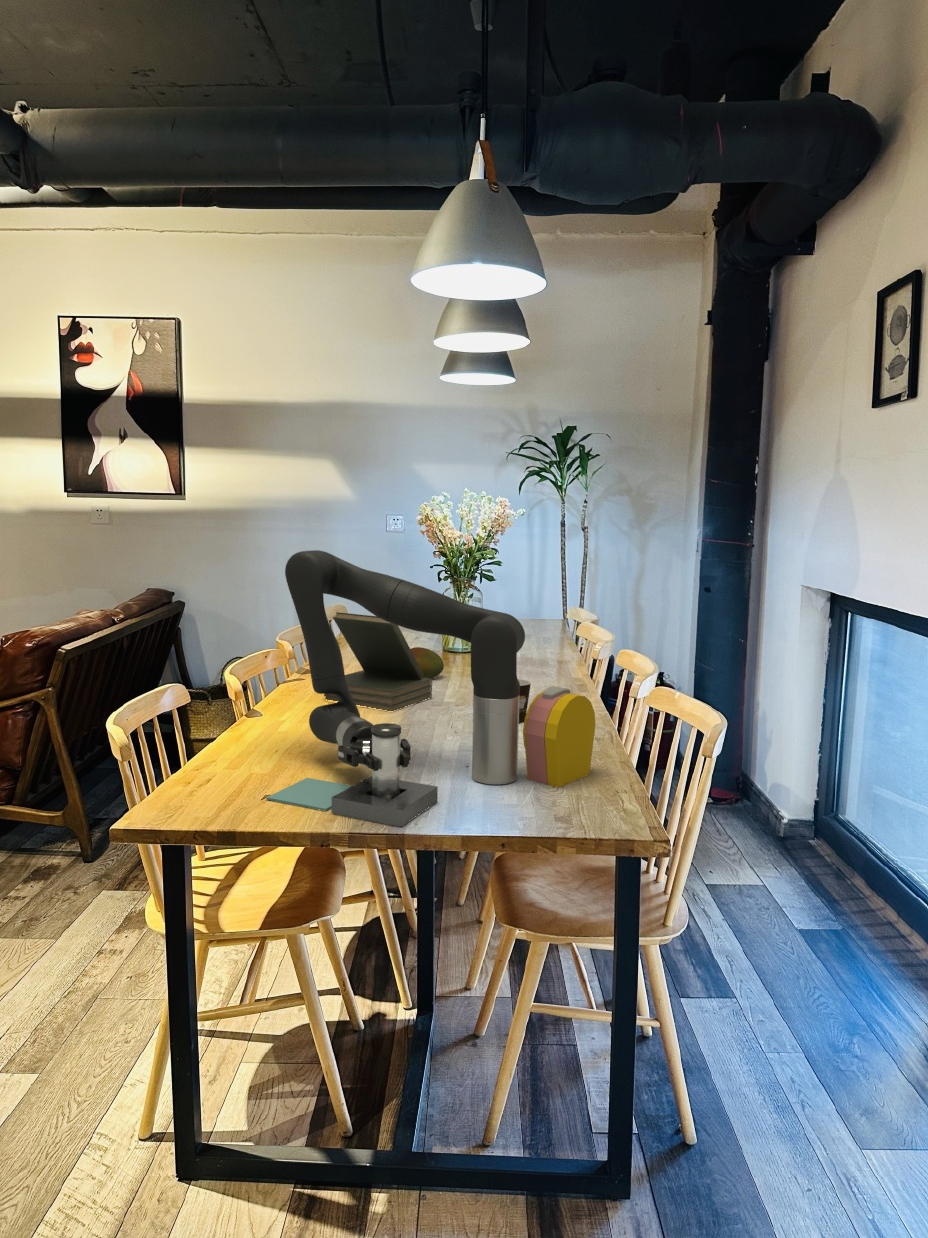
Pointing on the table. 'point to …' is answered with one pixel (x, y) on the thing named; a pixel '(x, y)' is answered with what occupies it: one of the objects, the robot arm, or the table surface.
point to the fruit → (428, 662)
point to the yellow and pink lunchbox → (558, 737)
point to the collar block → (384, 802)
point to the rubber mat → (310, 793)
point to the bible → (381, 664)
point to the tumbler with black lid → (386, 760)
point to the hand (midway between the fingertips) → (391, 763)
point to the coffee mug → (523, 698)
